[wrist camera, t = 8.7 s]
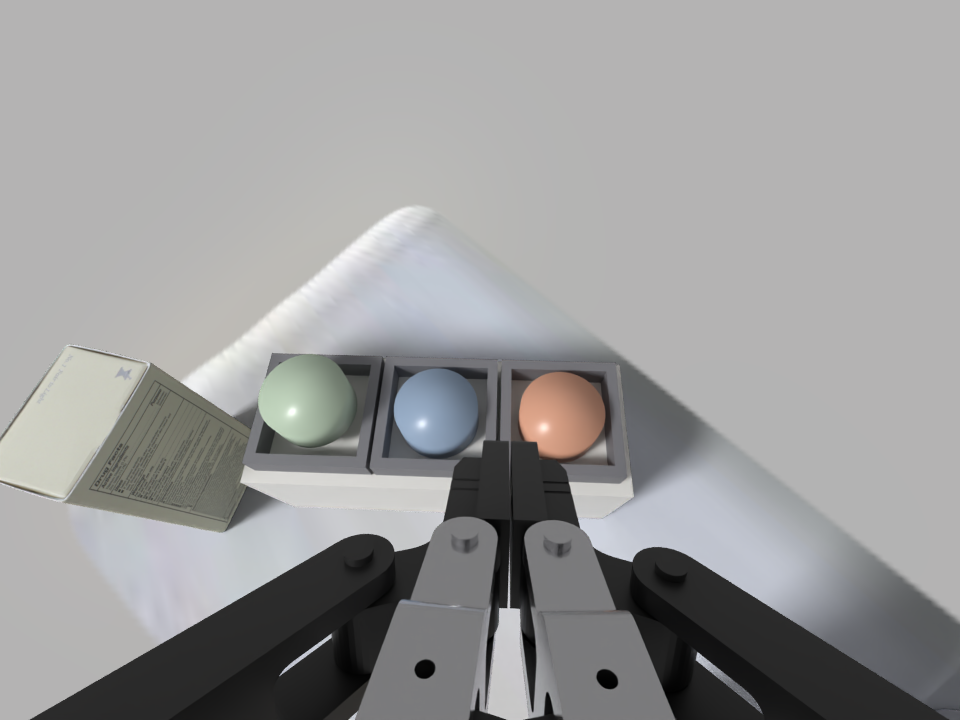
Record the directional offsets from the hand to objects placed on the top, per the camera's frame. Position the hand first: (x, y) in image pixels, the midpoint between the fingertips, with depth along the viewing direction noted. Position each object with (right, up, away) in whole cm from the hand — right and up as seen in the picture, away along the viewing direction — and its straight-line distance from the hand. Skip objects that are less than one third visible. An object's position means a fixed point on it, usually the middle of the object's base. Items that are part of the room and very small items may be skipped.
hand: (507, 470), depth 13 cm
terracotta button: (+3, 0, +11) cm, 11 cm away
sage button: (-9, +1, +10) cm, 13 cm away
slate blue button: (-3, 0, +11) cm, 11 cm away
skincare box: (-17, -5, +17) cm, 25 cm away
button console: (-3, -3, +17) cm, 18 cm away
